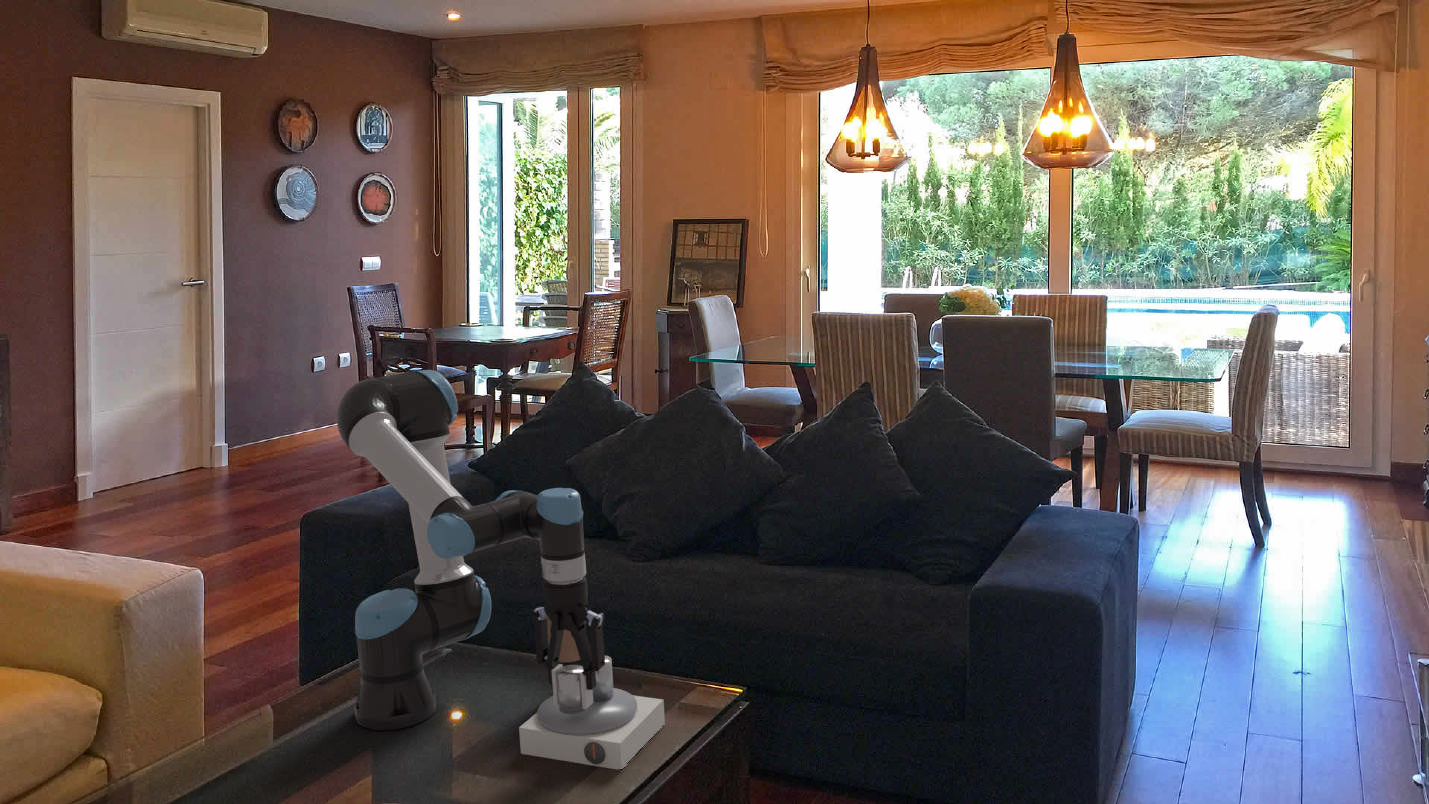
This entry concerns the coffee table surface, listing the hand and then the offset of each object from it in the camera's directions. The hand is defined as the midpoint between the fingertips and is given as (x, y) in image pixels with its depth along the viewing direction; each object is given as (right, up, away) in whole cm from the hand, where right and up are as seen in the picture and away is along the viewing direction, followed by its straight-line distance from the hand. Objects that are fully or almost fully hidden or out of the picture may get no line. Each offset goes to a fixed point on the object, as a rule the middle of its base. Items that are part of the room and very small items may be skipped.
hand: (573, 703), depth 214 cm
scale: (+3, -8, +6) cm, 10 cm away
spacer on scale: (+4, -1, +10) cm, 11 cm away
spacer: (0, -1, 0) cm, 1 cm away
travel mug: (-3, -5, +25) cm, 25 cm away
